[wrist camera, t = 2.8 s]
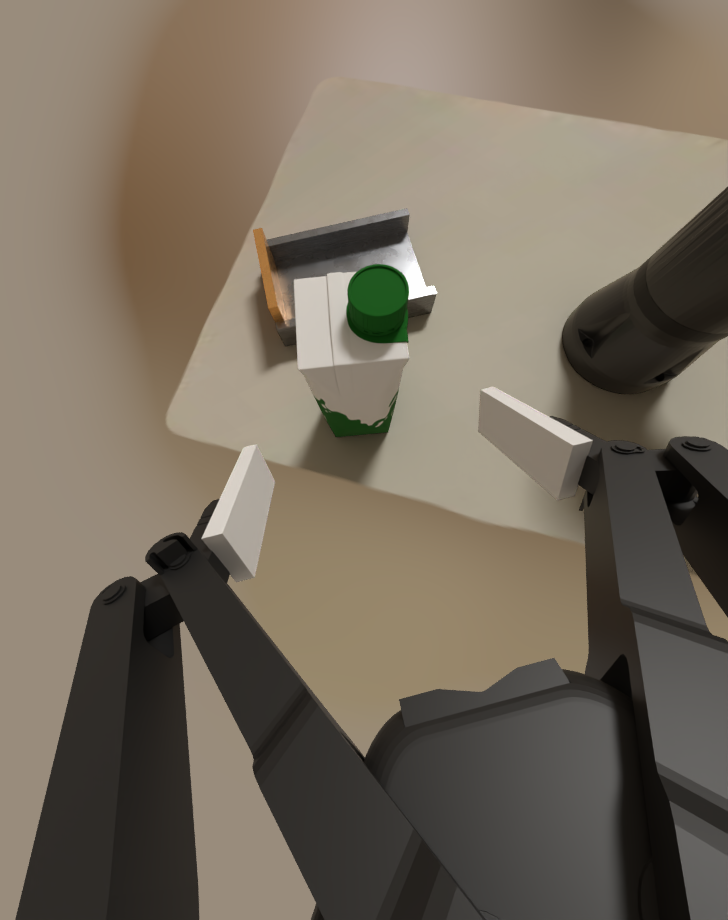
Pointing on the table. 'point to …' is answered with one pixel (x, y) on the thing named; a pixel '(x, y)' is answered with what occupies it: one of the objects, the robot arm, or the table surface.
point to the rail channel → (338, 262)
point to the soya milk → (353, 345)
